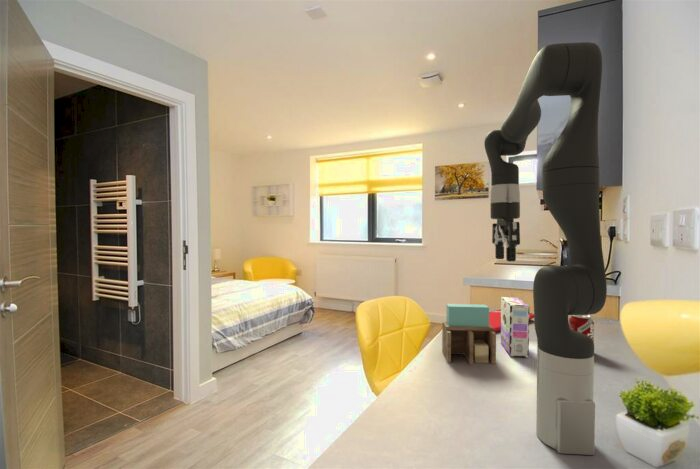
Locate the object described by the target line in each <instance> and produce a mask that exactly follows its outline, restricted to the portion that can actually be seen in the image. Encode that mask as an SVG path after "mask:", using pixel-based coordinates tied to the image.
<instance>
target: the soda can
mask: <svg viewBox="0 0 700 469" xmlns="http://www.w3.org/2000/svg"><path fill="white" fill-rule="evenodd" d="M568 320H569V327H570V329H571V330H574V331H577V332H580V333H582V334H585V335H587V336H589V337H590V338H591V339H592V340H593V342H594V343H595V321H594V320H593V319H592V315H591V314H590V315H570V318H568Z"/></svg>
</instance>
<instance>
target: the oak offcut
mask: <svg viewBox="0 0 700 469" xmlns="http://www.w3.org/2000/svg"><path fill="white" fill-rule="evenodd" d="M488 356H489V346H488V345H487V344H486V343H485V342H484V341H483V340H473V363H489V359H488Z"/></svg>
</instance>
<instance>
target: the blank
mask: <svg viewBox="0 0 700 469" xmlns="http://www.w3.org/2000/svg"><path fill="white" fill-rule="evenodd" d="M489 312H490V307H489V306H488V305H486V304H475V303H474V304H470V303H446V320H445V322H446V323H447V324H448V326H470V327H489Z"/></svg>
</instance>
